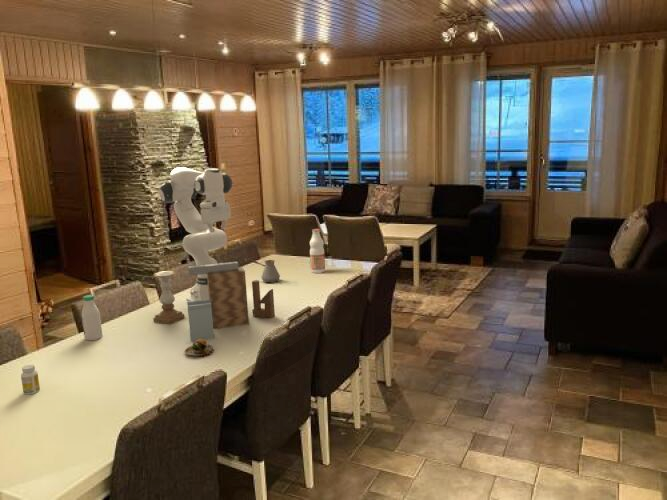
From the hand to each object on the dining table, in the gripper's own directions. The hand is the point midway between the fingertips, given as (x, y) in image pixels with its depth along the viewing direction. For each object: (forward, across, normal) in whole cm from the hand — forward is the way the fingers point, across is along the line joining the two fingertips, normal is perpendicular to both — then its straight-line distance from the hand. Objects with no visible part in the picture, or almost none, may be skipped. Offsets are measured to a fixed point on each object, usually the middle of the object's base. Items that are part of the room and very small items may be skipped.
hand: (217, 230), depth 276 cm
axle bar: (+18, +13, +5) cm, 22 cm away
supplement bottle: (+44, +96, -19) cm, 107 cm away
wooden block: (+44, -5, +20) cm, 48 cm away
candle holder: (+44, +13, -24) cm, 52 cm away
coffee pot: (+44, -66, -16) cm, 81 cm away
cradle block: (+44, +29, +7) cm, 53 cm away
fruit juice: (+44, -97, +7) cm, 107 cm away
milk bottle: (+44, +45, -42) cm, 75 cm away
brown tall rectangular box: (+44, +9, +9) cm, 46 cm away
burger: (+44, +46, +18) cm, 66 cm away
